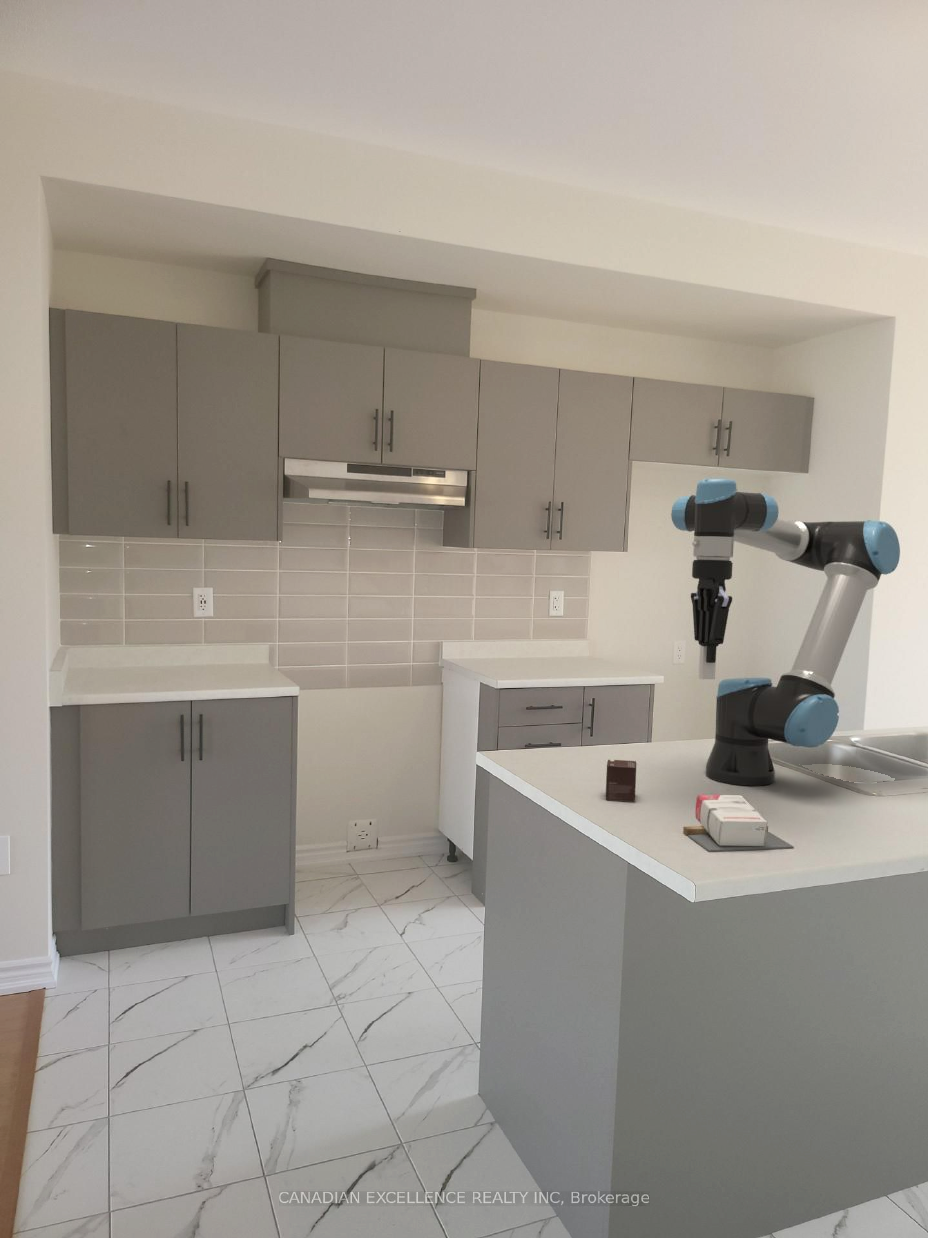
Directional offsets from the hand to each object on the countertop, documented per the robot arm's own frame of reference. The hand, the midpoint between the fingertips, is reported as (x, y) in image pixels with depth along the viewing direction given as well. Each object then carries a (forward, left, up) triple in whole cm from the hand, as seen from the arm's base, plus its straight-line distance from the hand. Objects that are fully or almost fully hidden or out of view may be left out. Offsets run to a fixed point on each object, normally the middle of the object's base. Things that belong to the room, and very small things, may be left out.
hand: (706, 678), depth 171 cm
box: (+13, -10, -27) cm, 31 cm away
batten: (+2, +14, -26) cm, 30 cm away
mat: (+2, +20, -26) cm, 33 cm away
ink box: (+2, +11, -22) cm, 25 cm away
